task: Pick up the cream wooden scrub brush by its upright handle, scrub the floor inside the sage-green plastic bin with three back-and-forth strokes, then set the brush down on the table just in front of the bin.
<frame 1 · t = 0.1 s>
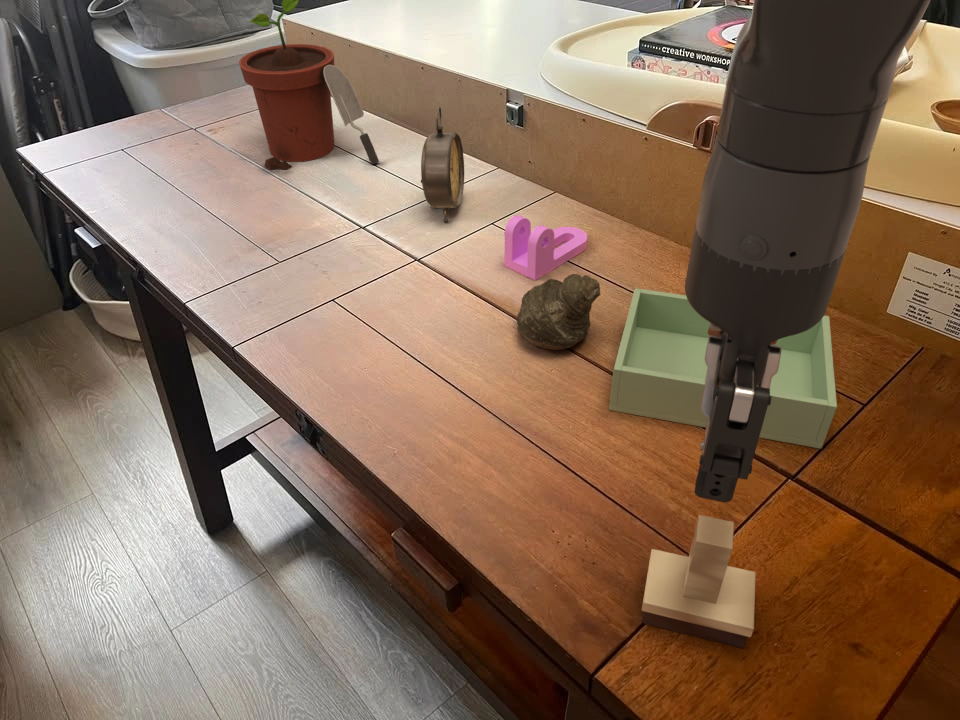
hand: (716, 447, 49), 20 cm above the table, tool pointing down, fingers open, 8 cm apart
potted plant: (311, 154, 136), on the table
bracket: (550, 256, 107), on the table
seashell: (543, 328, 94), on the table
alarm clock: (444, 210, 119), on the table
scrub brush: (694, 609, 63), on the table
bin: (716, 382, 85), on the table
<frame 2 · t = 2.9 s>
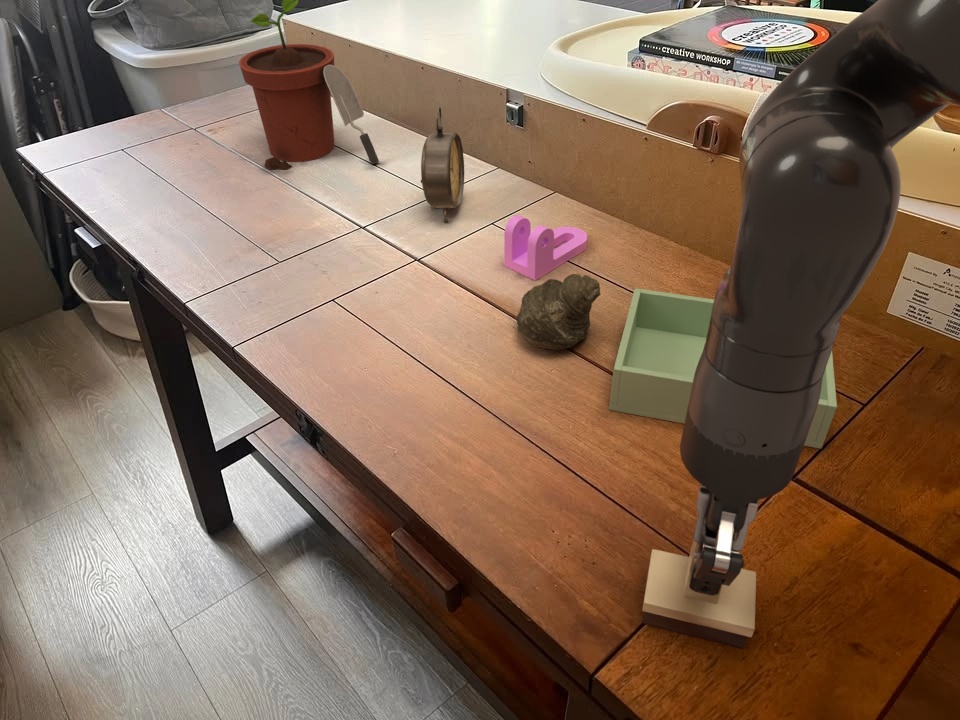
hand: (705, 571, 60), 5 cm above the table, tool pointing down, fingers closed on scrub brush, 2 cm apart
scrub brush: (694, 609, 63), on the table, touching gripper
everything else where it was.
when the fingers open (5 cm above the table, at t = 18.8 s): scrub brush stays where it is, on the table.
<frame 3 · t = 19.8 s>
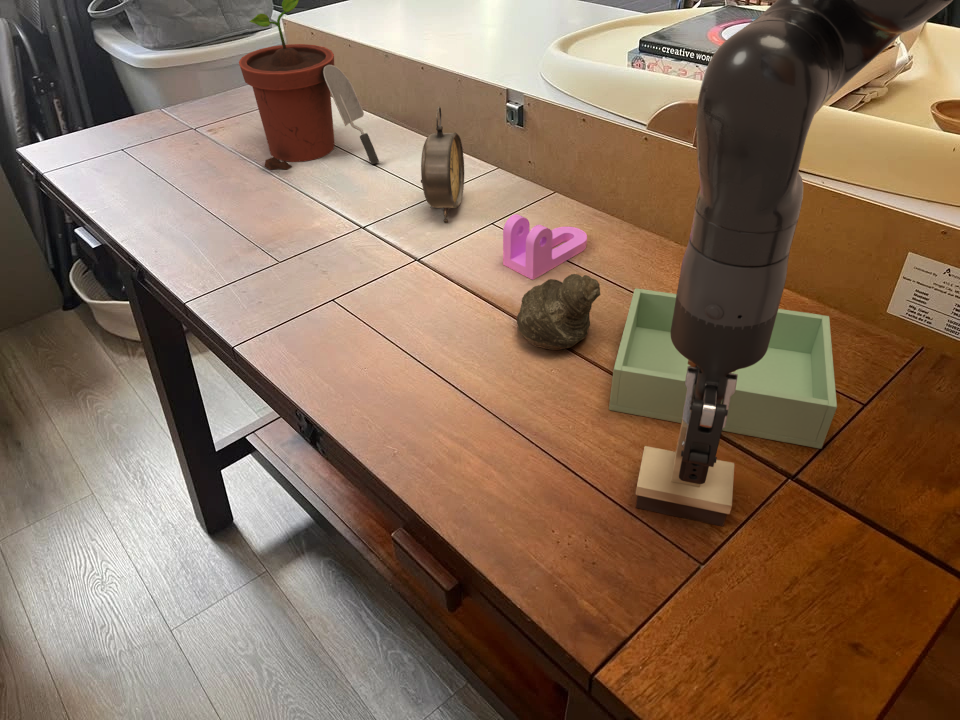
hand: (695, 445, 68), 7 cm above the table, tool pointing down, fingers open, 8 cm apart
scrub brush: (681, 497, 72), on the table
everything else where it was.
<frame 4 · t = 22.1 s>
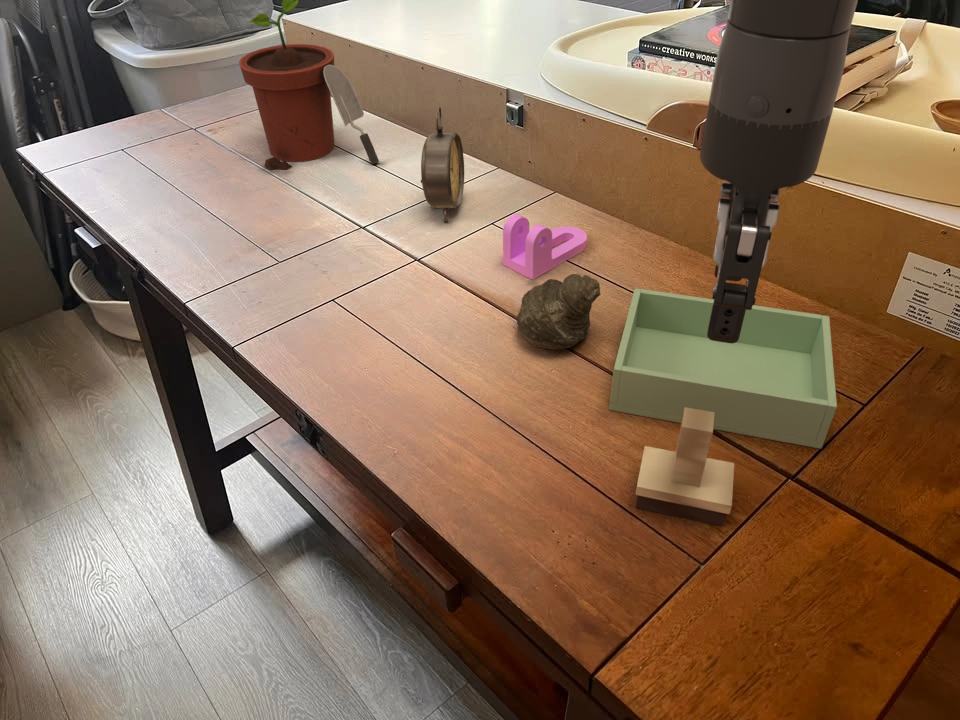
hand: (725, 306, 58), 22 cm above the table, tool pointing down, fingers open, 8 cm apart
nothing on the table moved.
at the end: scrub brush inside the target area on the table beside the bin (0.5 cm from its centre), on the table; scrub brush tilted 0°; the gripper is holding nothing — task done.
